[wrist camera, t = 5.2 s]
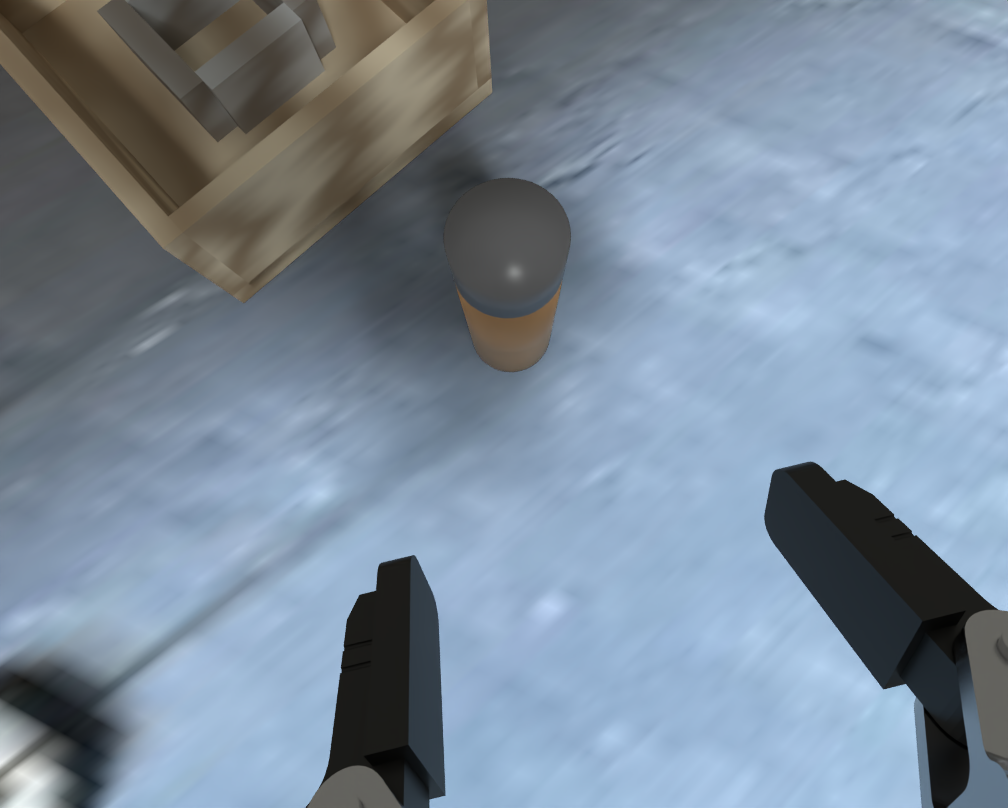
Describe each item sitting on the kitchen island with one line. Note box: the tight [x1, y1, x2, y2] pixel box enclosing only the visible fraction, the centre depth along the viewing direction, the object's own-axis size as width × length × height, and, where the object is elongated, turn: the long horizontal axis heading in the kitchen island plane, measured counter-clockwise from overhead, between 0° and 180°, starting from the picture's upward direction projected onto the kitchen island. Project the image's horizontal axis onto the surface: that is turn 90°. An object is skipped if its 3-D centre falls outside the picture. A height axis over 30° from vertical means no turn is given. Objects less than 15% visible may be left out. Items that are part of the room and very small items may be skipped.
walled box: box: [0, 0, 492, 303], centre depth 25 cm, size 18×22×6 cm
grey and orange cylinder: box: [444, 178, 571, 372], centre depth 20 cm, size 4×4×10 cm
